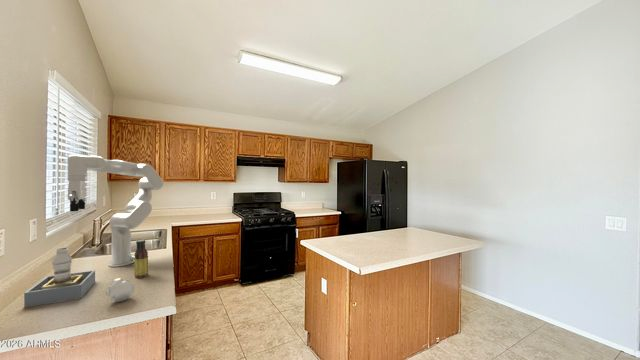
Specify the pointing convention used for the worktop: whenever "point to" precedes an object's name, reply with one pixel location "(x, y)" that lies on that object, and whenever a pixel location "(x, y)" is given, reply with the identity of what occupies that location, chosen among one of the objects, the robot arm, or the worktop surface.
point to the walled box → (58, 290)
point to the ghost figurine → (120, 290)
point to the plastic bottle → (62, 266)
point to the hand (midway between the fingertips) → (77, 210)
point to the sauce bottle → (141, 260)
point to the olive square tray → (75, 281)
